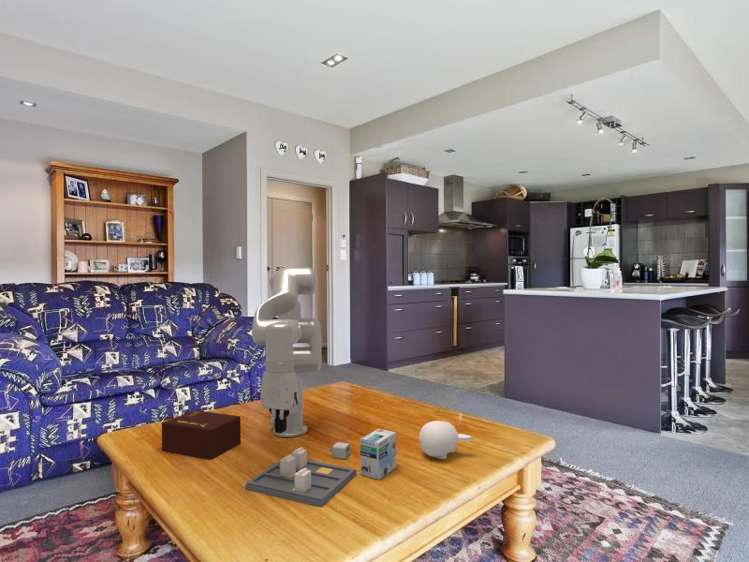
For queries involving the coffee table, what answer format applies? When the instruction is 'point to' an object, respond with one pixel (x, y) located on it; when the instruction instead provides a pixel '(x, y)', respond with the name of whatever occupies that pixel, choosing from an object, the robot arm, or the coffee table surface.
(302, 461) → the tab
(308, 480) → the tab
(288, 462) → the tab
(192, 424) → the box
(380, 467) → the light bulb box
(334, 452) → the usb wall charger
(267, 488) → the switch bank
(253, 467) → the coffee table surface
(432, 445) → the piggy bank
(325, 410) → the coffee table surface
